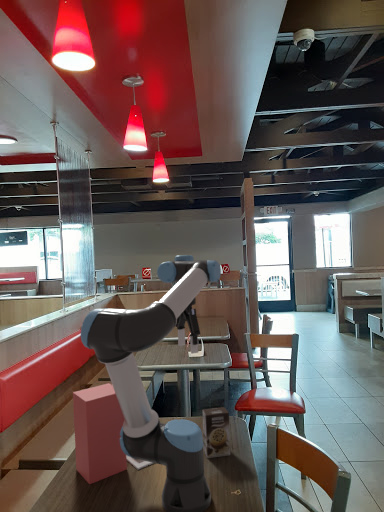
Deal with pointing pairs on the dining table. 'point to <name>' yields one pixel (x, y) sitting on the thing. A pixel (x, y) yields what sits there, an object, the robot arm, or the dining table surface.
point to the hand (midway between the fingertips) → (187, 349)
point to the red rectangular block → (98, 433)
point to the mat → (138, 462)
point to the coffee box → (216, 432)
